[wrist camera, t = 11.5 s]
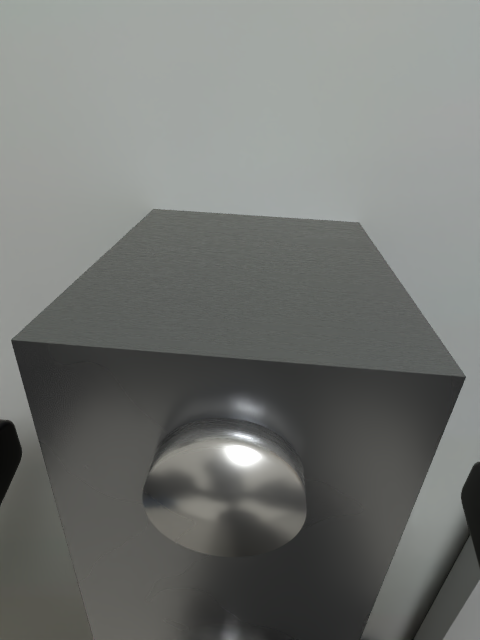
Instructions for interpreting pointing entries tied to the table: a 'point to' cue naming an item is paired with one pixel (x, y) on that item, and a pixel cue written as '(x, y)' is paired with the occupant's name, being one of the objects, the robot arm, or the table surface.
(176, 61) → the table surface
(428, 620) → the base plate
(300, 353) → the steel link block
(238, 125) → the table surface
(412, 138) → the table surface
